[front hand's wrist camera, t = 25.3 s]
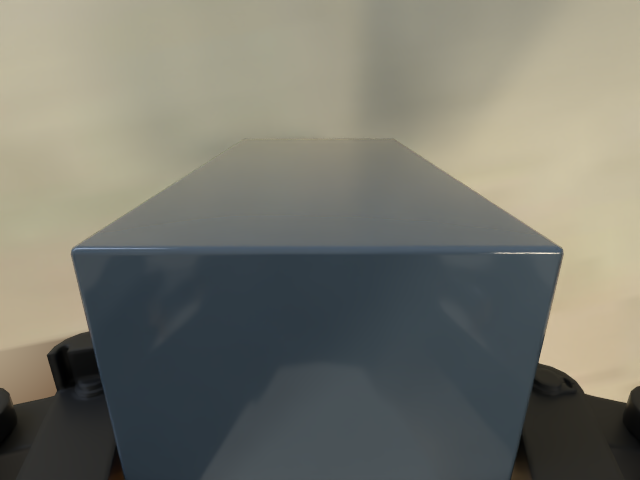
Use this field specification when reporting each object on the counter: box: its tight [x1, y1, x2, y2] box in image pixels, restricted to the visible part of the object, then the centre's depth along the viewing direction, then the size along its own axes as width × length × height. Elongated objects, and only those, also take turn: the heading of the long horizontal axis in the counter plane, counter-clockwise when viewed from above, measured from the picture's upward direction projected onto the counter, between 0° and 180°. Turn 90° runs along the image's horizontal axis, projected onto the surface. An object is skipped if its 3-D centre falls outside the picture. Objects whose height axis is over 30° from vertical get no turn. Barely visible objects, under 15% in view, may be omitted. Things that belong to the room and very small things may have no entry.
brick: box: [71, 139, 564, 480], centre depth 11 cm, size 6×9×11 cm, turn 0°
